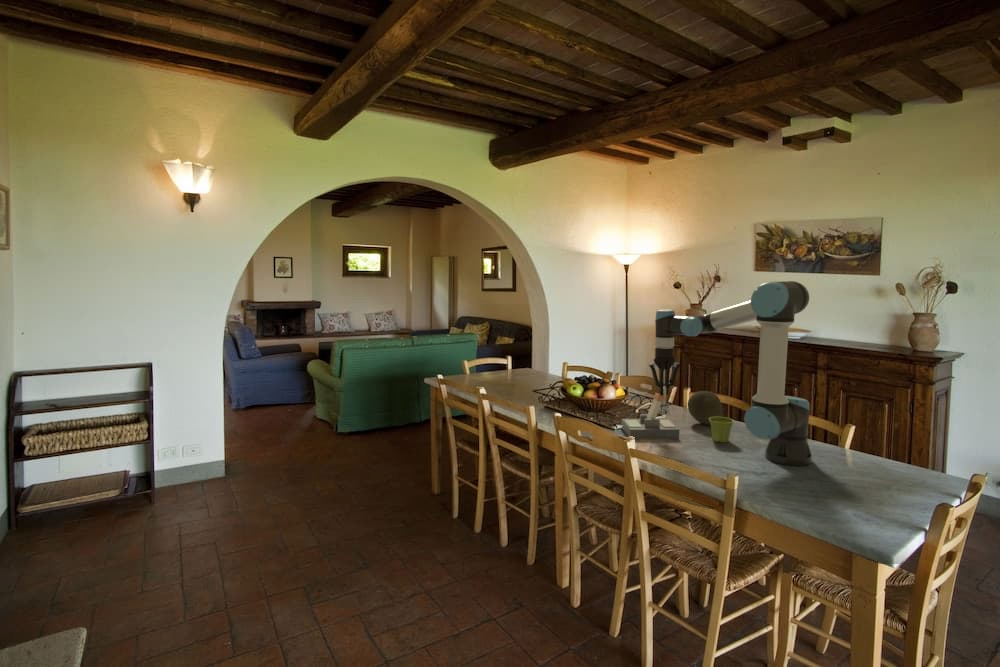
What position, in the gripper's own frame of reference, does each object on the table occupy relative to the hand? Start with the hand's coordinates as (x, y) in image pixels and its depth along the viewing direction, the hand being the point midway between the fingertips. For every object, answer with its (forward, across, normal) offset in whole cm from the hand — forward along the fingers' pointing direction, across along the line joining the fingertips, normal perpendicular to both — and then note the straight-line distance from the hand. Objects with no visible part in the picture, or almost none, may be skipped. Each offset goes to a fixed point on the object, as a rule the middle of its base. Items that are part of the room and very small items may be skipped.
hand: (663, 402), depth 235 cm
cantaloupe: (+14, -22, -13) cm, 29 cm away
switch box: (+13, +6, +1) cm, 14 cm away
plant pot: (+14, -20, +10) cm, 26 cm away
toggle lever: (+9, +6, +1) cm, 11 cm away
